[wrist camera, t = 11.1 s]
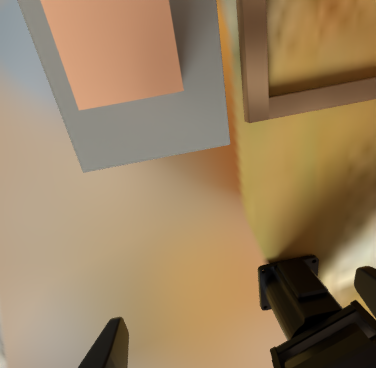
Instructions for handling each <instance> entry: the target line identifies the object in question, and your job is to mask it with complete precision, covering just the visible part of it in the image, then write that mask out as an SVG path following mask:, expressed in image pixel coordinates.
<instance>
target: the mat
mask: <svg viewBox="0 0 376 368" xmlns="http://www.w3.org/2000/svg"><path fill="white" fill-rule="evenodd" d="M17 1H18V3H19V6H20V9H21V11H22V14H23V16H24V19H25V21H26V24H27V27H28V30H29V32H30V34H31V37H32V40H33V43H34V45H35V48H36V50H37V53H38V56H39V58H40V61H41V63H42V66H43V69H44V71H45V74H46V77H47V79H48V82H49V84H50V87H51V89H52V92H53V95H54V98H55V100H56V103H57V105H58V108H59V111H60V113H61V116H62V118H63V121H64V123H65V126H66V129H67V132H68V134H69V137H70V139H71V142H72V145H73V147H74V150H75V152H76V155H77V158H78V160H79V163H80V165H81V168H82V171H83V172H89V171H95V170H100V169H105V168H110V167H115V166H121V165H125V164H131V163H136V162H141V161H146V160H152V159H157V158H161V157H167V156H173V155H178V154H183V153H188V152H193V151H199V150H204V149H209V148H214V147H219V146H224V145H230V137H229V126H228V116H227V106H226V96H225V86H224V75H223V66H222V56H221V45H220V34H219V25H218V14H217V4H216V0H169V5H170V11H171V17H172V23H173V29H174V35H175V41H176V47H177V53H178V59H179V65H180V71H181V77H182V83H183V89H184V91H181V92H177V93H171V94H166V95H161V96H155V97H150V98H145V99H139V100H134V101H129V102H124V103H118V104H113V105H108V106H102V107H96V108H90V109H85V110H79V109H78V106H77V103H76V101H75V98H74V95H73V92H72V89H71V86H70V83H69V81H68V78H67V75H66V72H65V69H64V66H63V63H62V61H61V58H60V55H59V52H58V49H57V46H56V43H55V41H54V38H53V35H52V32H51V29H50V26H49V24H48V21H47V18H46V15H45V12H44V9H43V6H42V4H41V1H40V0H17Z"/></svg>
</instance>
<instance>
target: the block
mask: <svg viewBox="0 0 376 368" xmlns="http://www.w3.org/2000/svg"><path fill="white" fill-rule="evenodd" d="M40 1H41V4H42V6H43V9H44V12H45V15H46V18H47V21H48V24H49V26H50V29H51V32H52V35H53V38H54V41H55V43H56V46H57V49H58V52H59V55H60V58H61V61H62V63H63V66H64V69H65V72H66V75H67V78H68V81H69V83H70V86H71V89H72V92H73V95H74V98H75V101H76V103H77V106H78V109H79V110H85V109H90V108H96V107H102V106H108V105H113V104H118V103H124V102H129V101H134V100H139V99H145V98H150V97H155V96H161V95H166V94H171V93H177V92H181V91H184V89H183V83H182V77H181V71H180V65H179V59H178V53H177V47H176V41H175V35H174V29H173V23H172V17H171V11H170V5H169V0H40Z"/></svg>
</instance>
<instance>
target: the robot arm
mask: <svg viewBox="0 0 376 368" xmlns="http://www.w3.org/2000/svg"><path fill="white" fill-rule="evenodd" d="M318 263H319V259H318V258H317V257H316V256H315V255H310V256H305V257H301V258H296V259H291V260H286V261H281V262H276V263H271V264H266V265H262V266H260V267H259V268H258V281H259V297H260V307H261V309H262V310H269V309H272V310H273V312H274V314H275V316H276V318H277V320H278V322H279V324H280V327H281V329H282V330H283V333H284V334H285V336H286V339H287V341H286V342H284V343H283V344H281V345H279V346H277V347H273V348H271V349H270V352H271V356H272V362H273V366H274V368H376V320H375V319H374V318H373V317H372V316H371V315H370V314H369V313H368V312H367V311H366V310H365V309H364V308H363V307H362V306H361V305H360V303H359V302H358V301H357V300H354V301H353V302H351V303H350V305H348V306H347V307H345V308H342V307H341V306H340V304H339V303H338V302H337V301H336V300H335V298H334V297H333V296H332V295H331V294H330V292H329V291H328V289H327V288H326V286H325V285H324V284H323V283H322V282H321V280H320V279H319V278H318V277H317V276H318ZM262 270H263V271H262ZM354 286H355V289H356V290H357V292H358V293H359V295H360V296H361V298H362V299H363V301H364V302H365V303H366V305H367V306H368V308H369V309H370V311H371V312H372V313H373V315H374V316H375V318H376V269H375V268H373V267H370V266H364V267H359V268H357V270H356V274H355V280H354ZM128 344H129V333H128V329H127V327H126V324H125V322H124V320H123V318H122V317H116V318H112V319H110V320H109V322H108V323H107V325H106V326H105V328H104V329H103V331H102V332H101V334H100V335H99V337H98V338H97V340H96V341H95V343H94V344H93V346H92V347H91V349H90V350H89V352H88V353H87V355H86V356H85V358H84V359H83V361H82V362H81V364H80V365H79V367H78V368H127V365H128Z"/></svg>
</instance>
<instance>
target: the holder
mask: <svg viewBox="0 0 376 368" xmlns="http://www.w3.org/2000/svg"><path fill="white" fill-rule="evenodd" d="M236 3H237V17H238V32H239V46H240V61H241V75H242V90H243V105H244V119H245V122H248V123H252V122H258V121H263V120H268V119H273V118H279V117H284V116H289V115H294V114H300V113H305V112H310V111H315V110H320V109H326V108H331V107H336V106H341V105H347V104H352V103H357V102H362V101H368V100H373V99H376V77H371V78H366V79H361V80H355V81H350V82H345V83H340V84H334V85H329V86H324V87H318V88H313V89H308V90H303V91H297V92H292V93H287V94H281V95H276V96H271V97H269V94H268V56H267V18H266V0H236Z"/></svg>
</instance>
